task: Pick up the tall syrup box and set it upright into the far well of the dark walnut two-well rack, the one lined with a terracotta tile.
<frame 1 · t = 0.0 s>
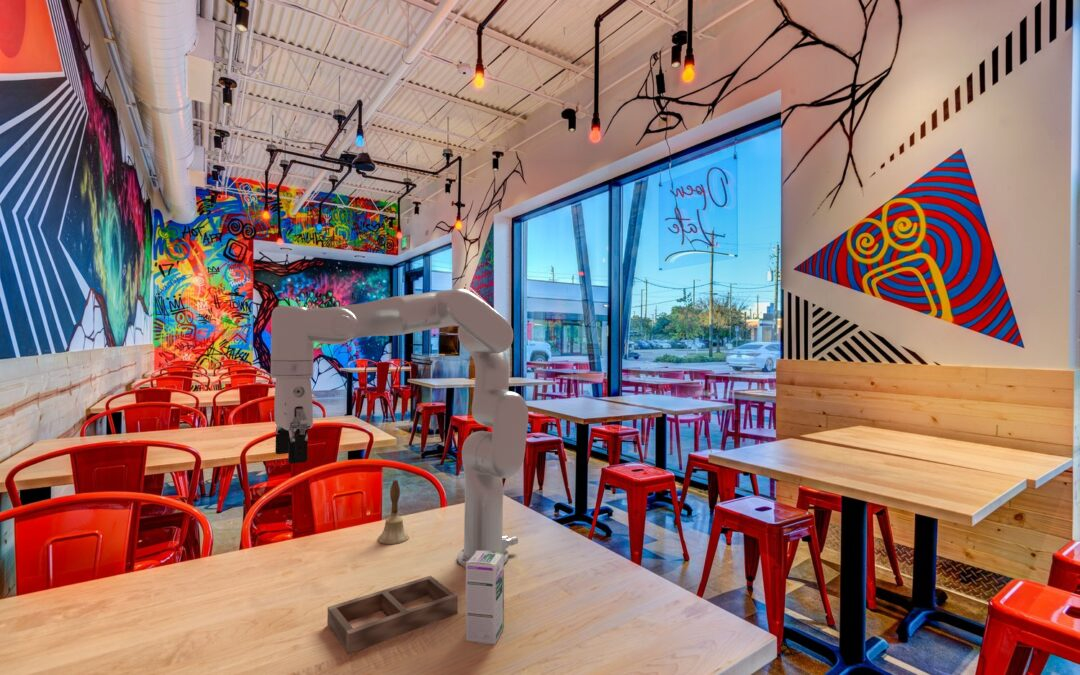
hand: (290, 457, 101), 31 cm above the table, tool pointing down, fingers open, 9 cm apart
rack: (394, 619, 101), on the table
syrup box: (484, 635, 96), on the table
hand bell: (393, 539, 142), on the table
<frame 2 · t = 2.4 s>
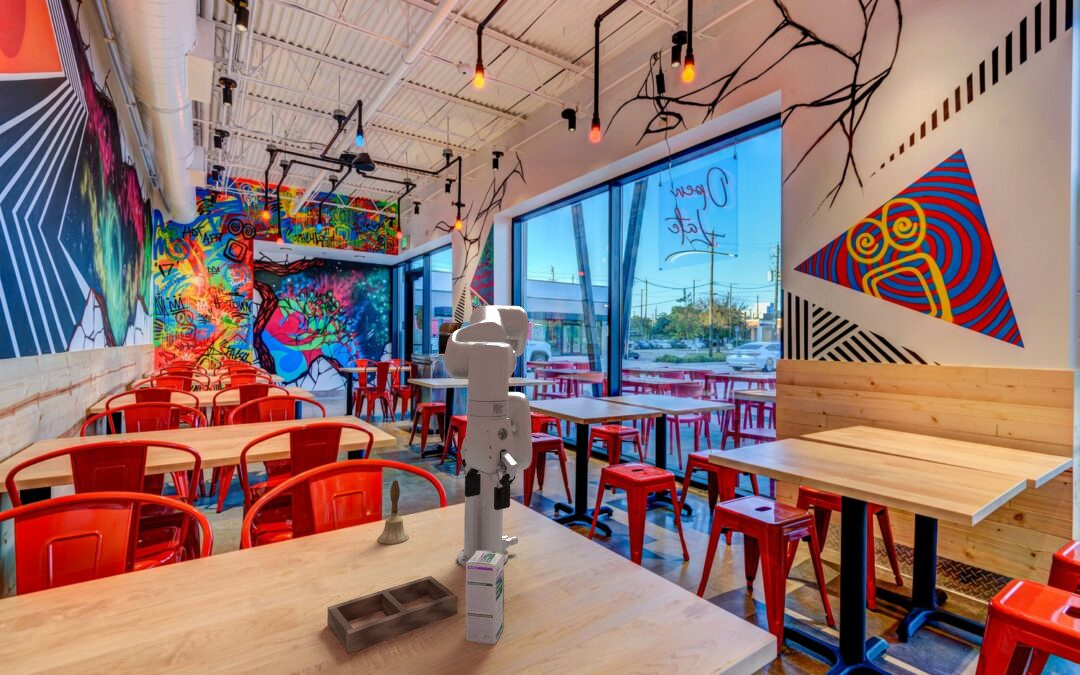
hand: (486, 501, 96), 25 cm above the table, tool pointing down, fingers open, 9 cm apart
nothing on the table moved.
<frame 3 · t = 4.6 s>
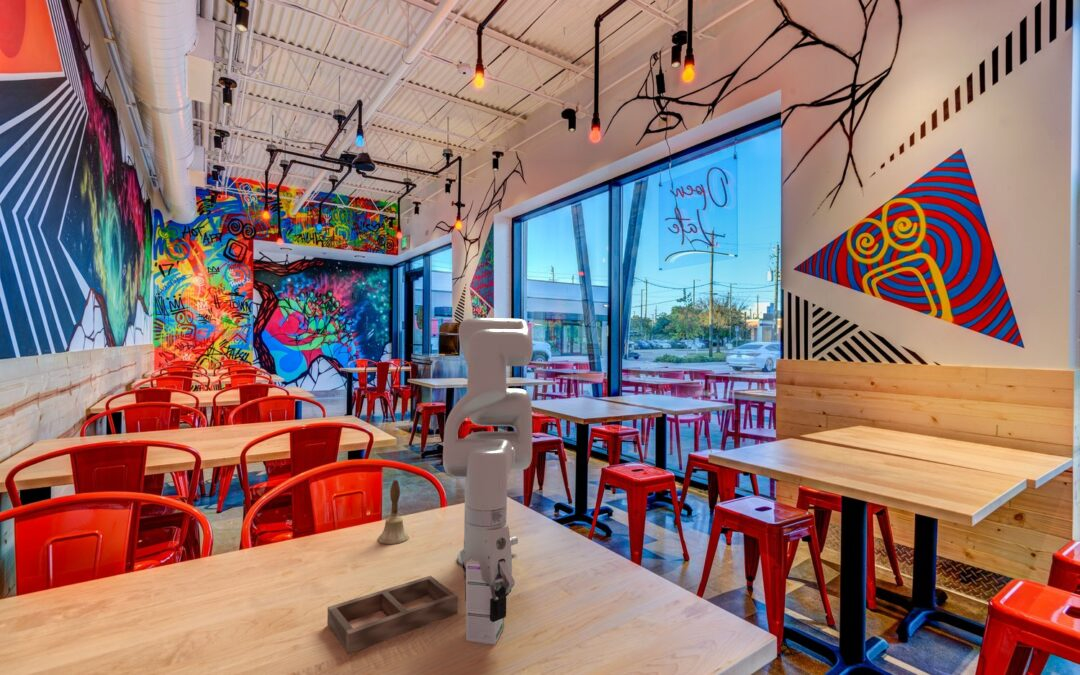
hand: (485, 608, 96), 5 cm above the table, tool pointing down, fingers closed on syrup box, 7 cm apart
syrup box: (484, 635, 96), on the table, touching gripper
everything else where it was.
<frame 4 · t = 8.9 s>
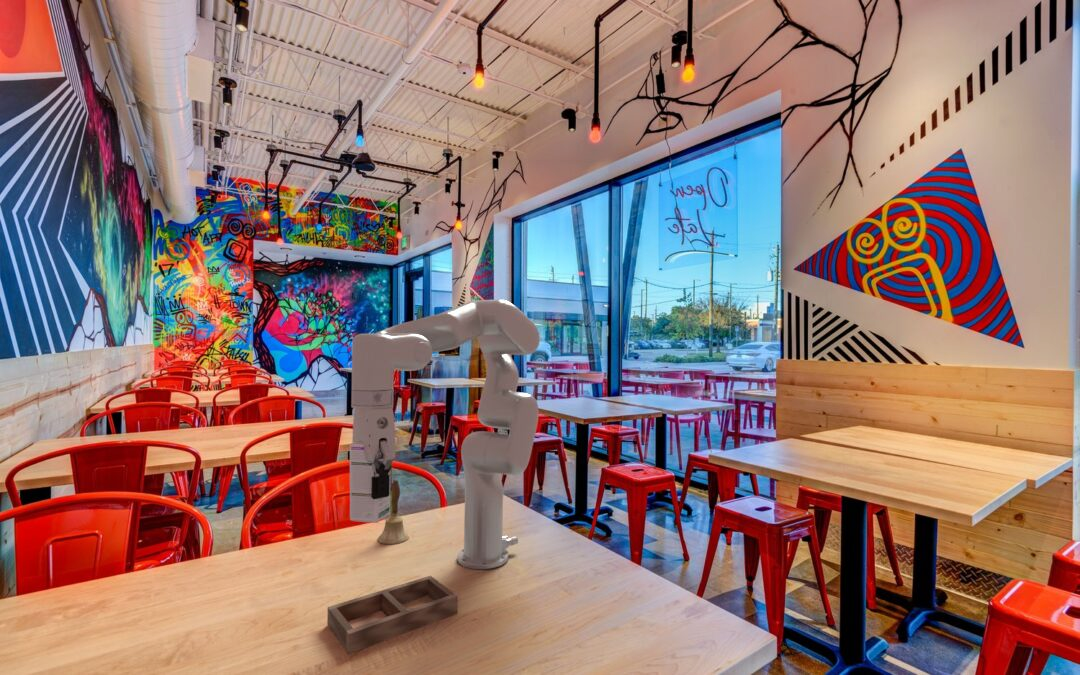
hand: (371, 491, 98), 26 cm above the table, tool pointing down, fingers closed on syrup box, 7 cm apart
syrup box: (370, 518, 98), point 21 cm above the table, touching gripper
everything else where it was.
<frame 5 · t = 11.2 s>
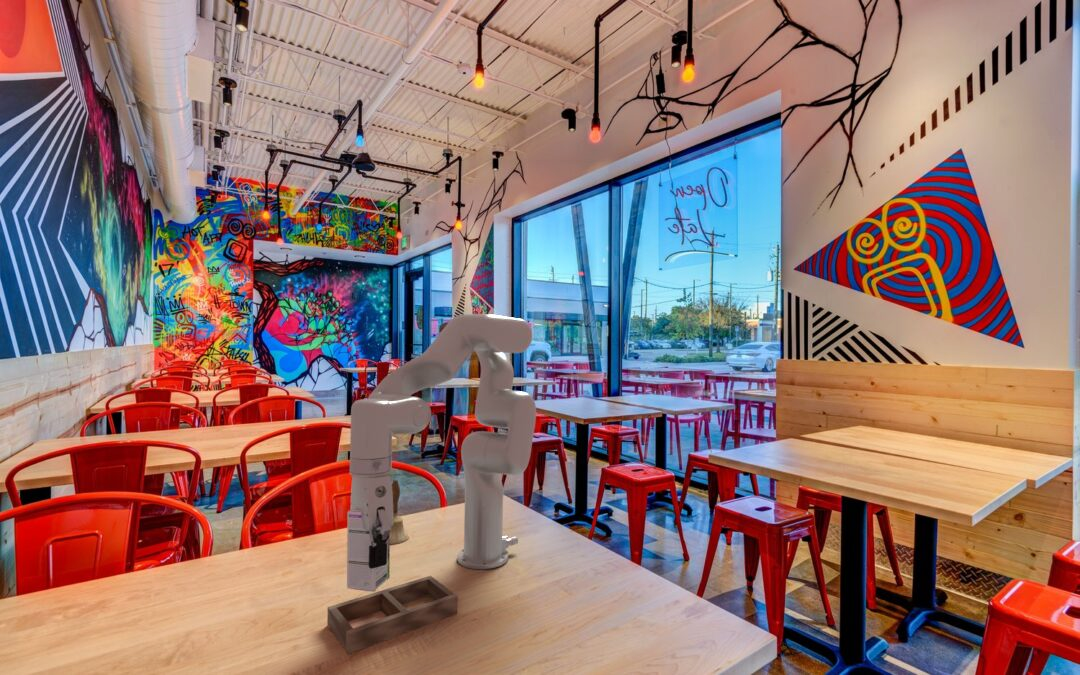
hand: (368, 558, 98), 13 cm above the table, tool pointing down, fingers closed on syrup box, 7 cm apart
syrup box: (368, 584, 97), point 8 cm above the table, touching gripper
everything else where it was.
when the fingers open (6 cm above the table, at t = 13.3 s): syrup box stays where it is, resting on rack.
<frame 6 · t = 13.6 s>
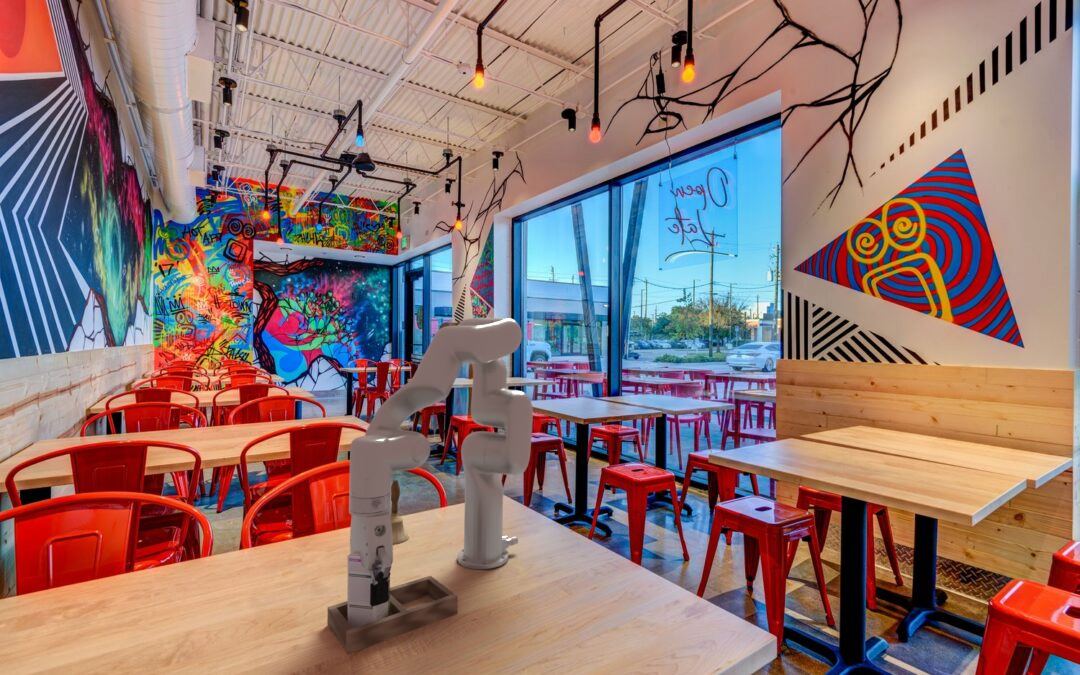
hand: (368, 593, 98), 7 cm above the table, tool pointing down, fingers open, 9 cm apart
syrup box: (368, 627, 98), resting on rack
everything else where it was.
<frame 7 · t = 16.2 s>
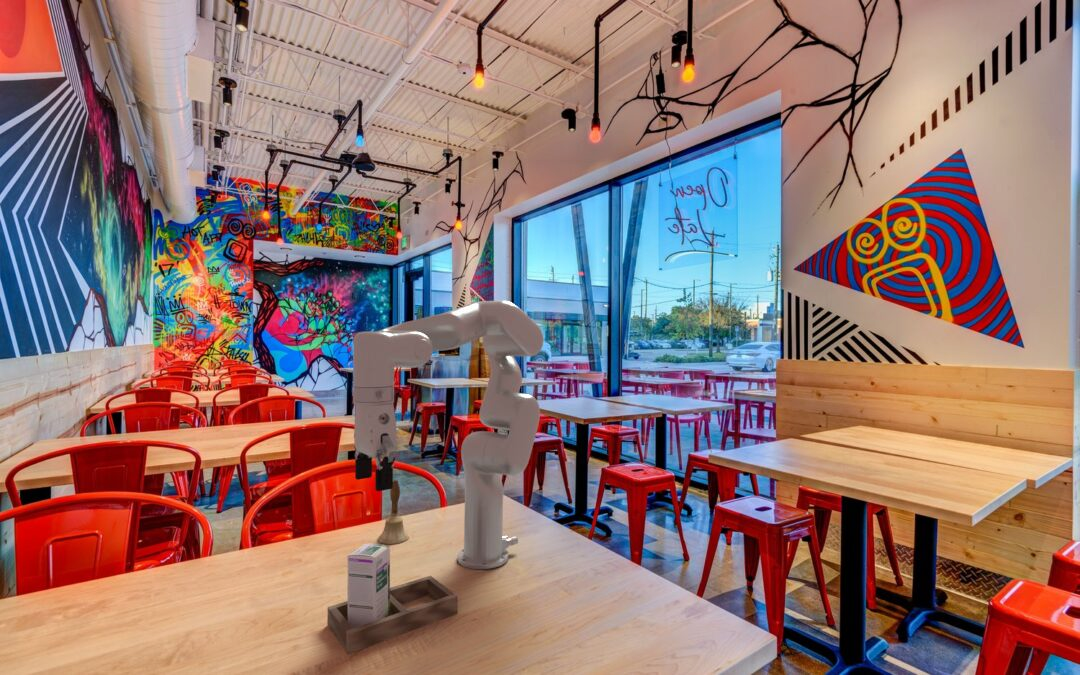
hand: (373, 483, 100), 27 cm above the table, tool pointing down, fingers open, 9 cm apart
nothing on the table moved.
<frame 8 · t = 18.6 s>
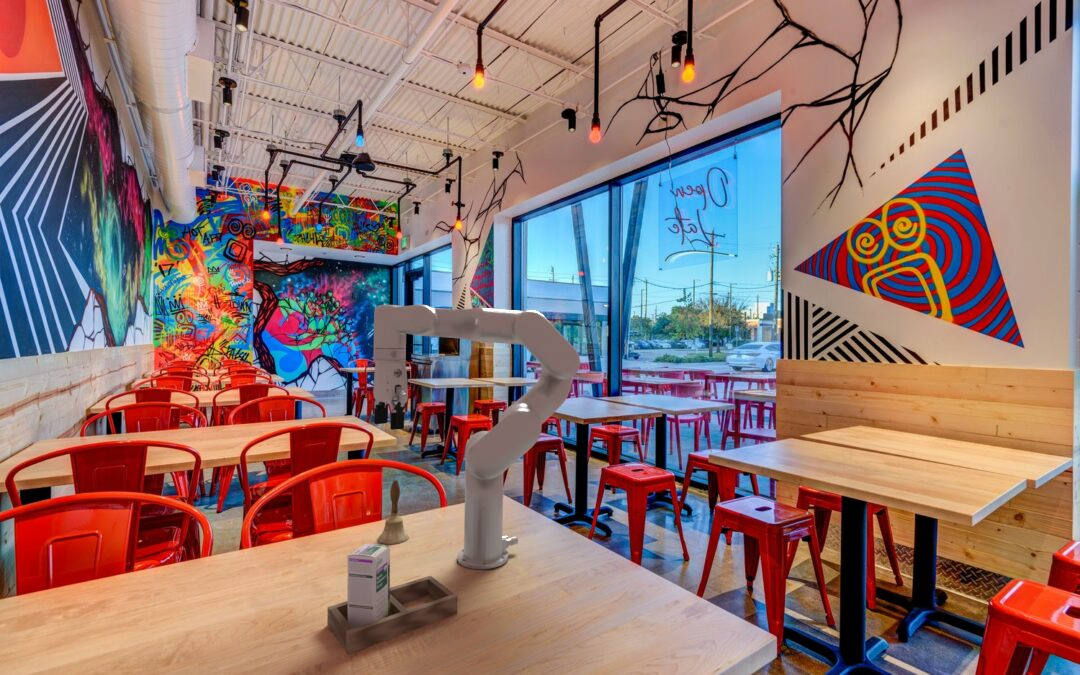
hand: (388, 426, 126), 33 cm above the table, tool pointing down, fingers open, 9 cm apart
nothing on the table moved.
at the end: syrup box 0.2 cm from the target spot on the rack, point 0.1 cm above the rack's base; syrup box tilted 0°; the gripper is holding nothing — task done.
